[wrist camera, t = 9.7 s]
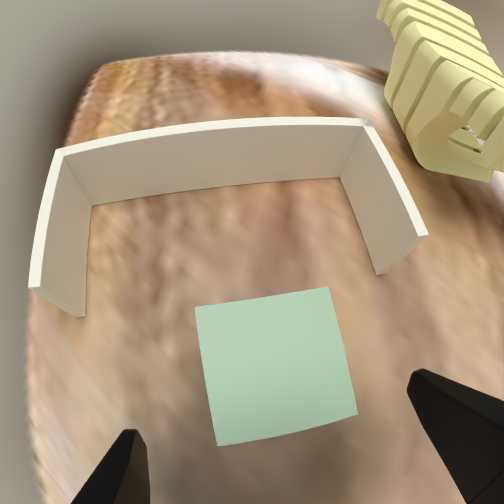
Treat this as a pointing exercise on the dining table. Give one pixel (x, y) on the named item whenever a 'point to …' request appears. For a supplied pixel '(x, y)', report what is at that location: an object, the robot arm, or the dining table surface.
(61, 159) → the cream u-shaped wall
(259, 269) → the dining table surface
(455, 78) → the slatted curved stool
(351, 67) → the dining table surface
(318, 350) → the block
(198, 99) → the dining table surface
